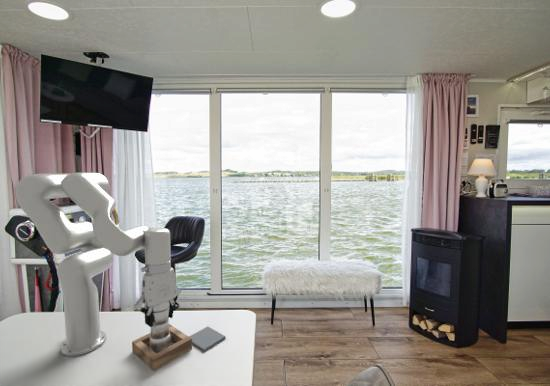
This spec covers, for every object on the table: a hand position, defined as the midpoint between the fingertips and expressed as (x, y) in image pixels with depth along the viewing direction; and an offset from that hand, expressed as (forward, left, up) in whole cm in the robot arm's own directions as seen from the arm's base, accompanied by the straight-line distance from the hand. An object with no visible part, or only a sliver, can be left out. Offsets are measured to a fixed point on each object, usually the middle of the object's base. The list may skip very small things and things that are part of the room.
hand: (159, 320), depth 88 cm
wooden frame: (0, 0, -10) cm, 10 cm away
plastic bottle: (0, 0, -10) cm, 10 cm away
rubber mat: (+7, +13, -10) cm, 18 cm away
